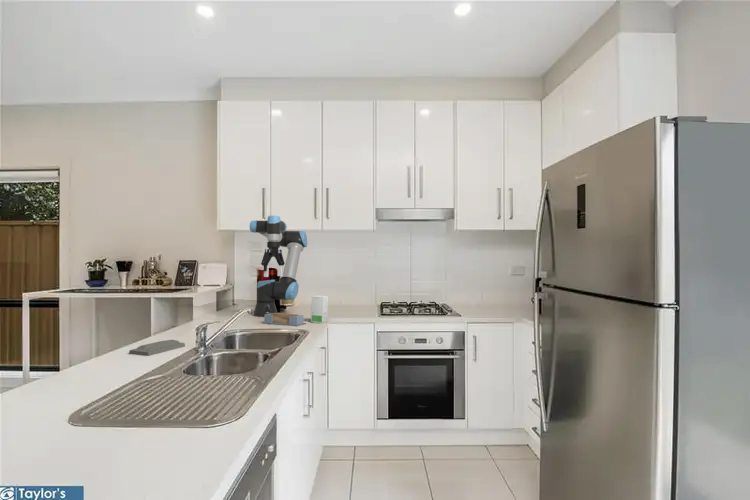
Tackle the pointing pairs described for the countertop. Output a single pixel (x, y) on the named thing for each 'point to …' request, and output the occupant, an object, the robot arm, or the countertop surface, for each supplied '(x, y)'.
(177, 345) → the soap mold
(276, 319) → the brown long rectangular block
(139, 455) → the countertop surface
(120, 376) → the countertop surface
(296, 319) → the endcap rail
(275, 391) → the countertop surface
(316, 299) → the skincare box
